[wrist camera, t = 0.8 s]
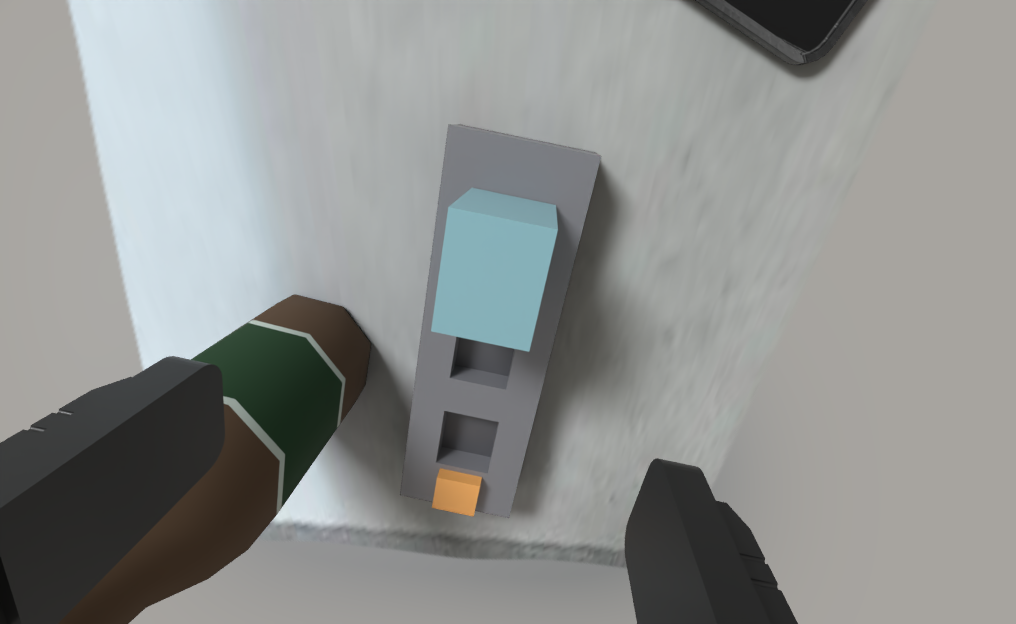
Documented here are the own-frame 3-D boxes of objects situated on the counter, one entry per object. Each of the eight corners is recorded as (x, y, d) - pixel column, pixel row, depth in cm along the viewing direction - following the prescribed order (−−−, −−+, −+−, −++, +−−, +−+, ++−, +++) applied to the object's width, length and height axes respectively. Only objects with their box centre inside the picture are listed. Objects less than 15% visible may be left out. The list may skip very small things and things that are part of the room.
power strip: (460, 124, 24) (444, 124, 20) (595, 152, 24) (603, 157, 20) (412, 462, 32) (396, 504, 29) (512, 483, 32) (507, 528, 29)
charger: (476, 183, 23) (448, 206, 17) (555, 199, 23) (557, 229, 17) (461, 277, 25) (430, 331, 19) (534, 292, 25) (529, 351, 19)
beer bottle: (357, 282, 27) (-454, 956, 5) (390, 396, 30) (-51, 1150, 8) (237, 298, 28) (-869, 916, 6) (279, 406, 31) (-383, 1100, 9)
